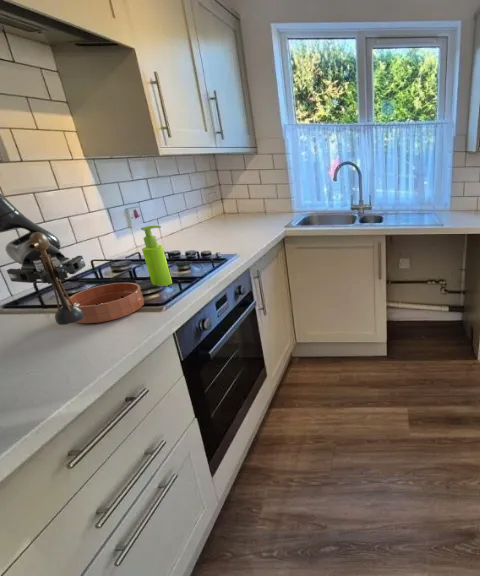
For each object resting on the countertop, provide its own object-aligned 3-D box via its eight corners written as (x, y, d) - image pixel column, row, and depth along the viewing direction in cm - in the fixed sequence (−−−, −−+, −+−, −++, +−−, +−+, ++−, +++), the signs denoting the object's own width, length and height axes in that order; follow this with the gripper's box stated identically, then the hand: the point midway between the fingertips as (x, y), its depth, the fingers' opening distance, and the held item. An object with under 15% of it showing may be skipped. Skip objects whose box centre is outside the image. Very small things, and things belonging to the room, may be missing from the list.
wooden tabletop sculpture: (77, 324, 79) (41, 235, 71) (51, 328, 77) (11, 237, 69) (86, 313, 84) (54, 228, 76) (62, 316, 82) (26, 230, 74)
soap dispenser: (178, 282, 125) (163, 225, 117) (156, 289, 120) (139, 229, 112) (171, 279, 128) (156, 223, 120) (150, 284, 123) (133, 227, 116)
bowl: (79, 331, 94) (72, 312, 92) (67, 312, 105) (60, 295, 102) (153, 309, 105) (147, 292, 103) (135, 294, 116) (130, 278, 114)
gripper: (-5, 251, 79) (1, 269, 68) (73, 238, 88) (89, 252, 77) (9, 283, 82) (17, 305, 71) (84, 267, 91) (101, 284, 80)
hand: (55, 277), depth 74 cm, fingers closed on wooden tabletop sculpture, 1 cm apart
